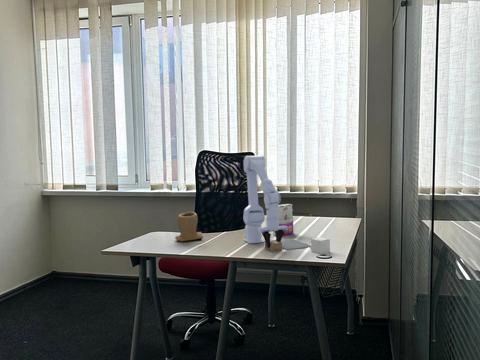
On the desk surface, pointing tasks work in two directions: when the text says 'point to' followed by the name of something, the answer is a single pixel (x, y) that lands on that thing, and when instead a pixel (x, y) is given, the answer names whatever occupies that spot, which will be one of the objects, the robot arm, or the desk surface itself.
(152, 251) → the desk surface
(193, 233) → the stone cup
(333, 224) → the desk surface
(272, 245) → the brown box with strip
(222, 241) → the desk surface
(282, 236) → the robot arm
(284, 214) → the candy bar box
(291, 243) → the rubber mat
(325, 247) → the white cube
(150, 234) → the desk surface
